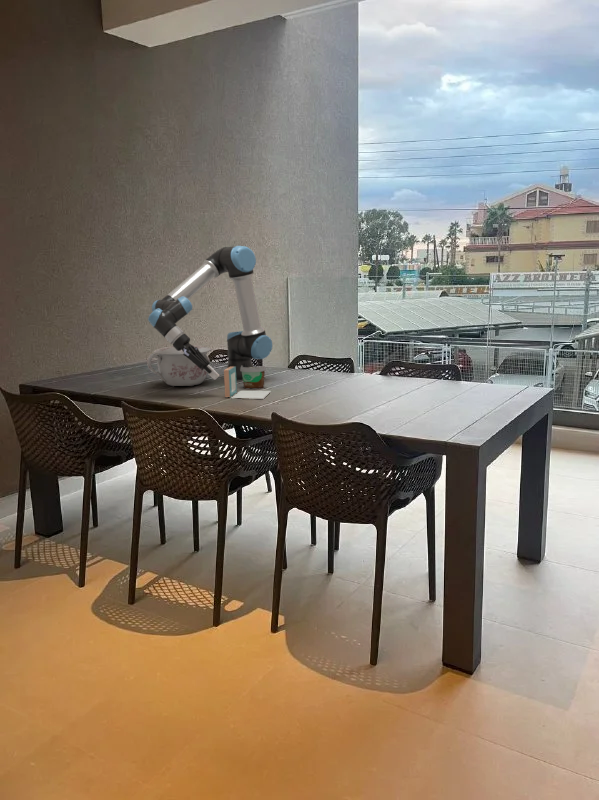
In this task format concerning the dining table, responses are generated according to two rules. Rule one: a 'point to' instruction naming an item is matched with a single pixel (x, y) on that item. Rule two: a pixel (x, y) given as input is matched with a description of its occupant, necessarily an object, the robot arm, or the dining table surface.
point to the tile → (230, 381)
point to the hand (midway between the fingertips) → (217, 377)
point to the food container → (253, 376)
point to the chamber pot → (178, 366)
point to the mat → (251, 394)
